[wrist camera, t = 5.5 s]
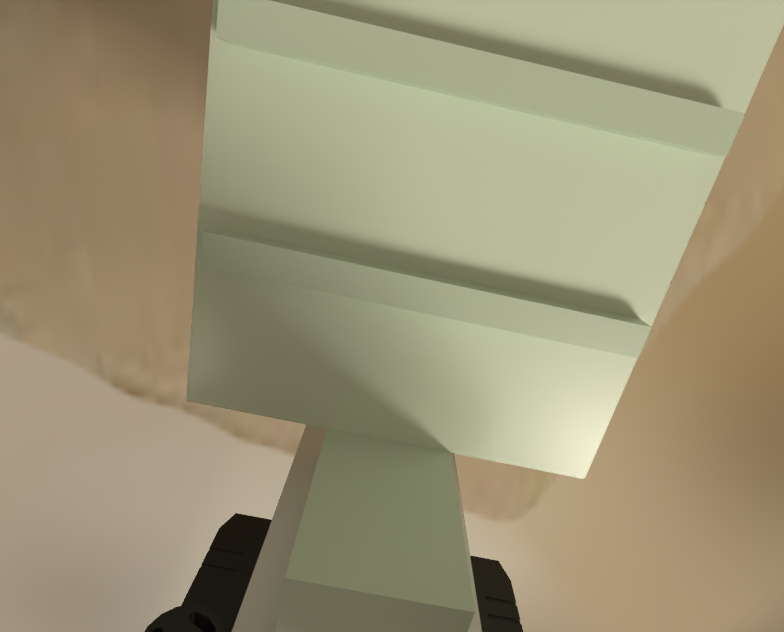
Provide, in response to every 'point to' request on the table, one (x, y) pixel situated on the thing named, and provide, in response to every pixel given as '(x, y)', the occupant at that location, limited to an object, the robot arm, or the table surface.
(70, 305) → the table surface
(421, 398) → the ridged block with tab
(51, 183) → the table surface
